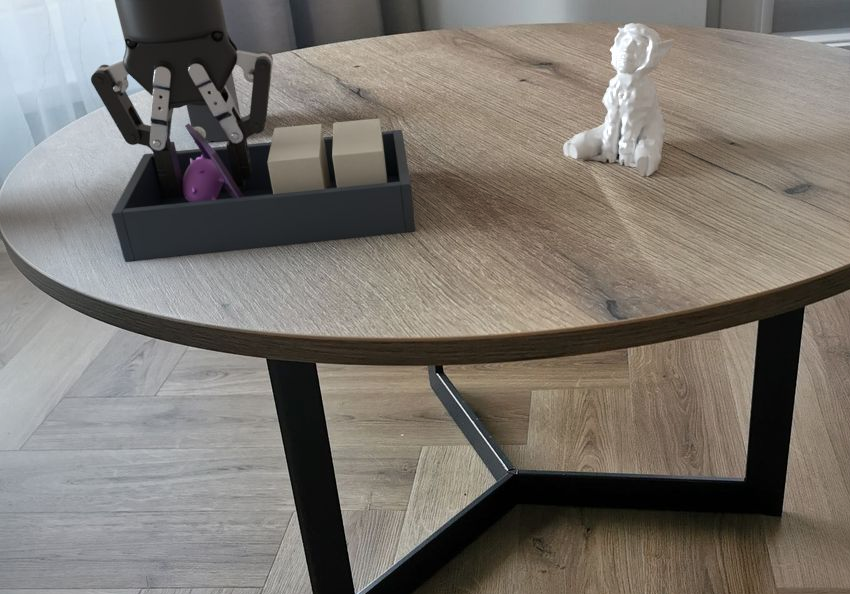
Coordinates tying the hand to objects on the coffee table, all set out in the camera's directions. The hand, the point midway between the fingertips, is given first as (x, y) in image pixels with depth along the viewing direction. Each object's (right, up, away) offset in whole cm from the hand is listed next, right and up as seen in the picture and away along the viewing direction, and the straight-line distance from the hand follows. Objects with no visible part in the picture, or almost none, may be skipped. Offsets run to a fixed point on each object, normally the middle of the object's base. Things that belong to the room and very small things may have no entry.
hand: (209, 185), depth 79 cm
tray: (+5, -3, +2) cm, 6 cm away
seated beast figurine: (+36, +5, +11) cm, 38 cm away
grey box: (-6, +10, +25) cm, 27 cm away
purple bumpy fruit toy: (0, -2, +1) cm, 3 cm away
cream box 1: (+8, -2, +2) cm, 8 cm away
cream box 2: (+13, -1, +3) cm, 13 cm away
